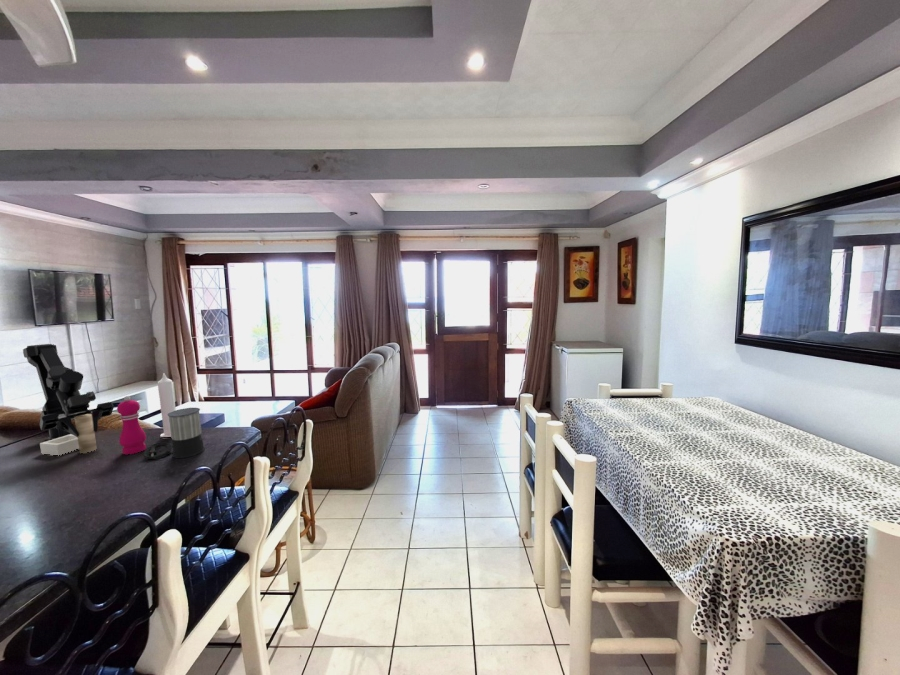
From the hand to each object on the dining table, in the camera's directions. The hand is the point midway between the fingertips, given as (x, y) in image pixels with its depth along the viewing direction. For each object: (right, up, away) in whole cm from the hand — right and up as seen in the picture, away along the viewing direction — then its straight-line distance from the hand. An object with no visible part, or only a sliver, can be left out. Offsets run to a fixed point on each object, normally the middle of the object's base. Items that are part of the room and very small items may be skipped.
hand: (87, 433), depth 132 cm
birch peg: (-1, -7, +1) cm, 7 cm away
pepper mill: (+17, -6, 0) cm, 18 cm away
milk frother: (+35, -6, -4) cm, 35 cm away
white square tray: (-11, -7, +3) cm, 13 cm away
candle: (+19, -4, +15) cm, 24 cm away
